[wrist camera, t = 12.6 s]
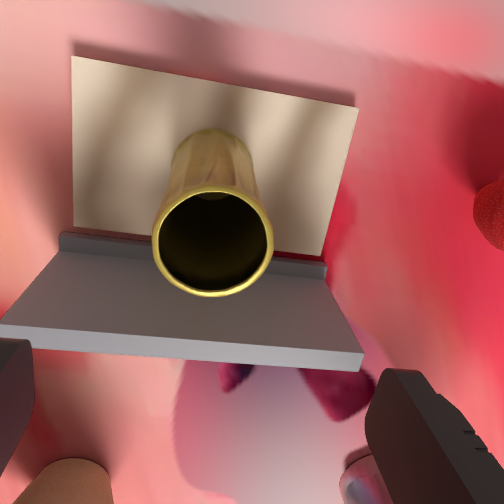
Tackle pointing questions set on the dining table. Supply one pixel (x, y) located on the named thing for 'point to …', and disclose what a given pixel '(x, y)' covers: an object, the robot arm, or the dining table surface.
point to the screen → (180, 311)
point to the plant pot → (69, 484)
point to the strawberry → (491, 212)
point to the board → (184, 124)
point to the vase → (212, 218)
